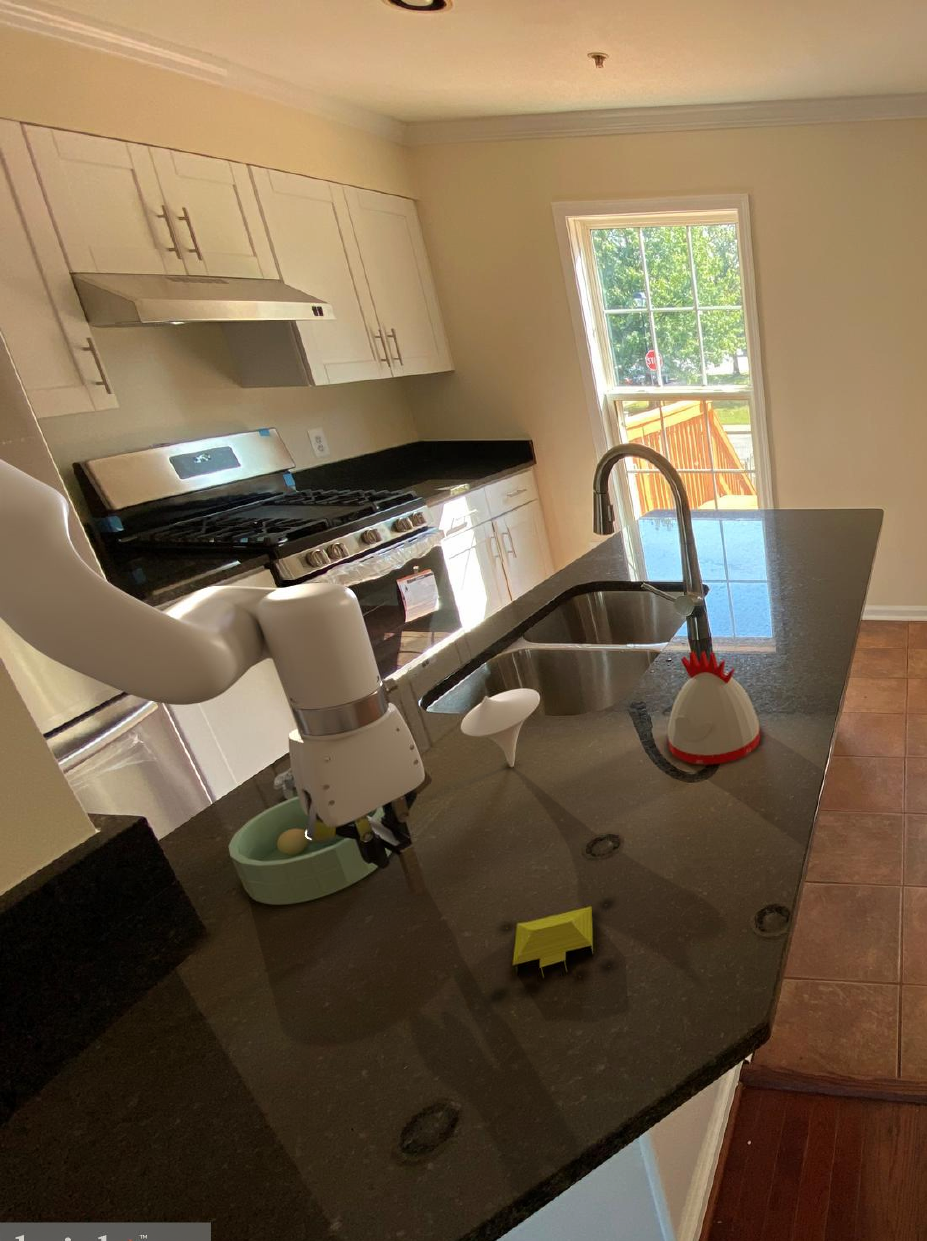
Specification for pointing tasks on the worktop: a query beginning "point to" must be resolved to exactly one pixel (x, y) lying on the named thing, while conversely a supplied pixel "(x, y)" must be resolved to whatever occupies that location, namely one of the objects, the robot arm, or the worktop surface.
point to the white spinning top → (501, 718)
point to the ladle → (392, 842)
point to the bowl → (293, 859)
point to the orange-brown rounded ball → (292, 841)
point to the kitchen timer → (711, 715)
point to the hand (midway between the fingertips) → (389, 855)
